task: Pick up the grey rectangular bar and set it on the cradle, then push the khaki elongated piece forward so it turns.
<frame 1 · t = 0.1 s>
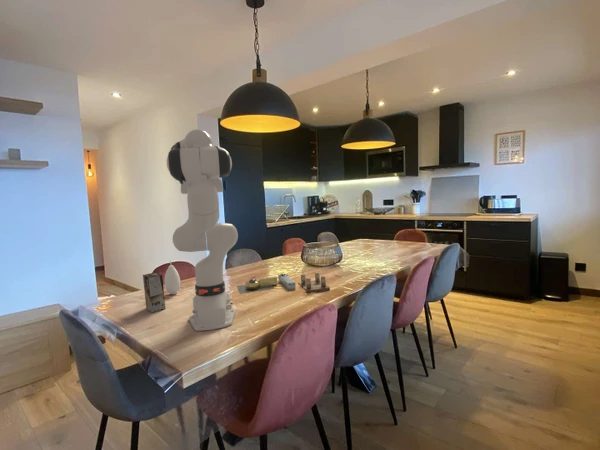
hand: (203, 202, 161), 48 cm above the table, fingers open, 8 cm apart
dial base: (253, 289, 173), on the table
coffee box: (155, 309, 150), on the table
grey rectangular bar: (288, 287, 173), on the table
khaki elongated piece: (261, 282, 174), point 3 cm above the table, hinge at 0.0°
cradle: (313, 287, 170), on the table
white teardrop candle: (173, 294, 173), on the table
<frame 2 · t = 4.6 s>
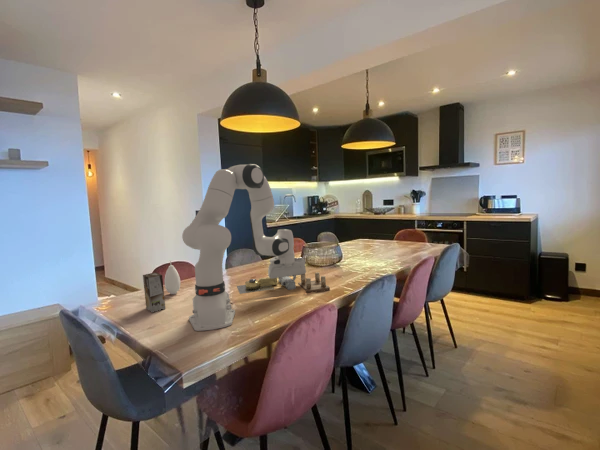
hand: (287, 284, 173), 2 cm above the table, fingers closed on grey rectangular bar, 4 cm apart
grey rectangular bar: (288, 287, 173), on the table, touching gripper
everything else where it was.
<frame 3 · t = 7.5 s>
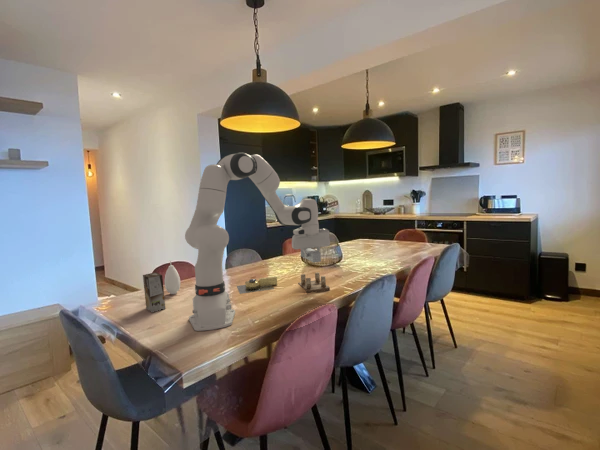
hand: (311, 256, 168), 17 cm above the table, fingers closed on grey rectangular bar, 4 cm apart
grey rectangular bar: (311, 259, 169), point 15 cm above the table, touching gripper
everything else where it was.
when the fingers open (4 cm above the table, at t = 10.1 s): grey rectangular bar stays where it is, resting on cradle.
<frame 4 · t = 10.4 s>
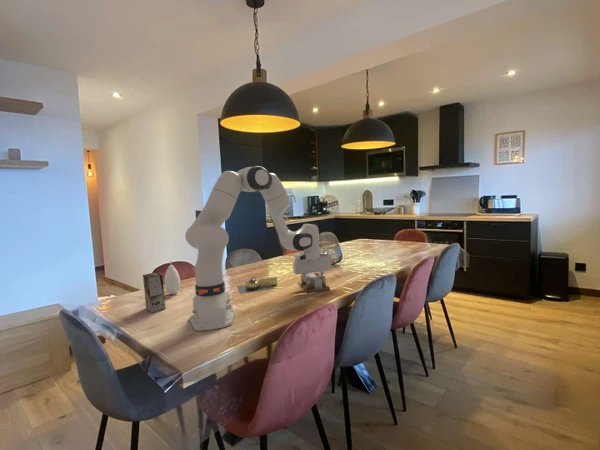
hand: (313, 280, 170), 4 cm above the table, fingers open, 6 cm apart
grey rectangular bar: (313, 284, 170), point 1 cm above the table, touching cradle
everything else where it was.
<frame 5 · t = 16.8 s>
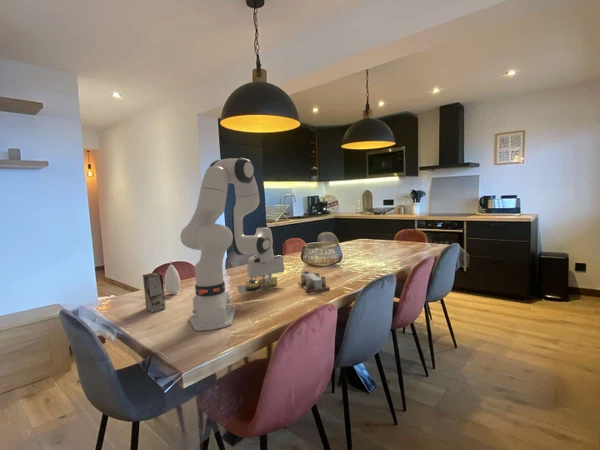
hand: (267, 282, 173), 3 cm above the table, fingers closed
khaki elongated piece: (261, 282, 174), point 3 cm above the table, hinge at 0.3°, touching gripper
everything else where it was.
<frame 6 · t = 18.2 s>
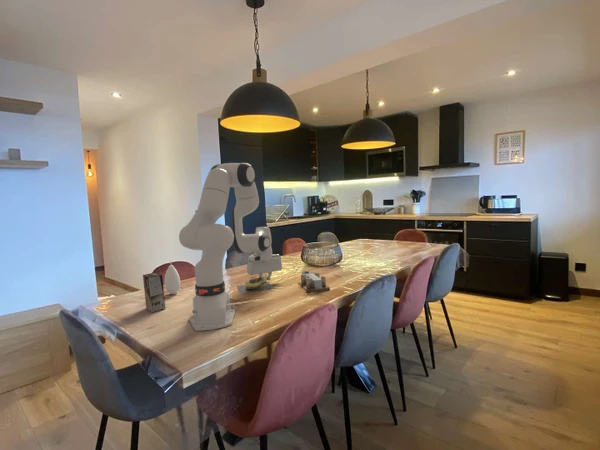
hand: (265, 280, 179), 3 cm above the table, fingers closed
khaki elongated piece: (257, 281, 177), point 3 cm above the table, hinge at 50.0°, touching gripper
everything else where it was.
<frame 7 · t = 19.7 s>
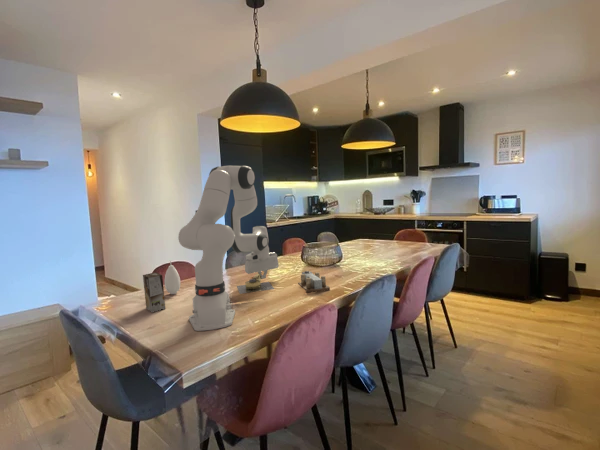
hand: (263, 278, 183), 3 cm above the table, fingers closed
khaki elongated piece: (254, 281, 177), point 3 cm above the table, hinge at 67.1°, touching gripper
everything else where it was.
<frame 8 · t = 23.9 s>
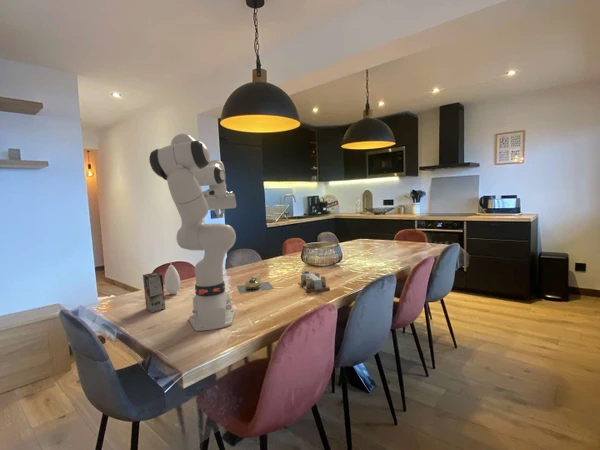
hand: (220, 217, 173), 39 cm above the table, fingers closed
khaki elongated piece: (254, 281, 177), point 3 cm above the table, hinge at 67.4°
everything else where it was.
at the end: grey rectangular bar 0.1 cm off-centre on the cradle, point 1.5 cm above the cradle's base; the gripper is holding nothing; khaki elongated piece at +67° (first picture: +0°) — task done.
